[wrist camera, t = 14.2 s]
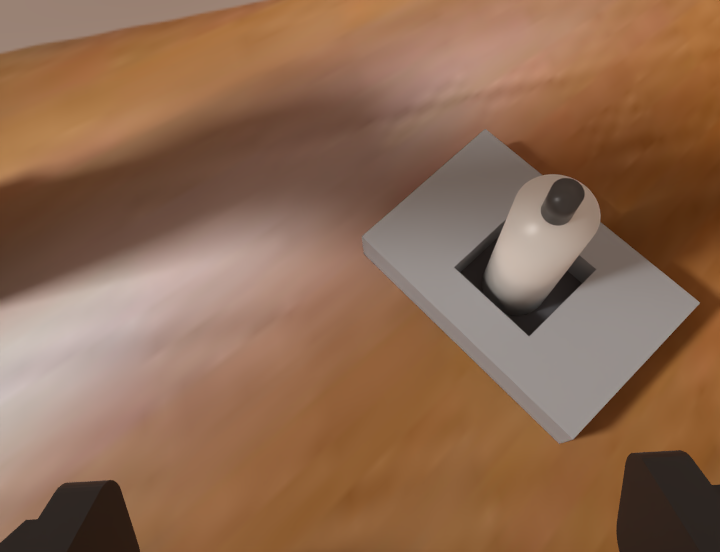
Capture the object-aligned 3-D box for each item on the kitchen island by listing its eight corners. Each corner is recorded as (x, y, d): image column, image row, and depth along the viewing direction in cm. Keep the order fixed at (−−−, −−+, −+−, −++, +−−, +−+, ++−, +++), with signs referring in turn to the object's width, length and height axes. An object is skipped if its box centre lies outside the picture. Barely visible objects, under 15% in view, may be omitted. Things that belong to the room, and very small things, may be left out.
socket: (363, 253, 42) (361, 236, 39) (479, 151, 44) (485, 128, 42) (559, 443, 37) (573, 439, 34) (678, 316, 39) (700, 302, 36)
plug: (485, 317, 40) (528, 236, 27) (478, 257, 41) (515, 156, 29) (551, 313, 39) (622, 231, 27) (541, 253, 41) (605, 150, 29)
